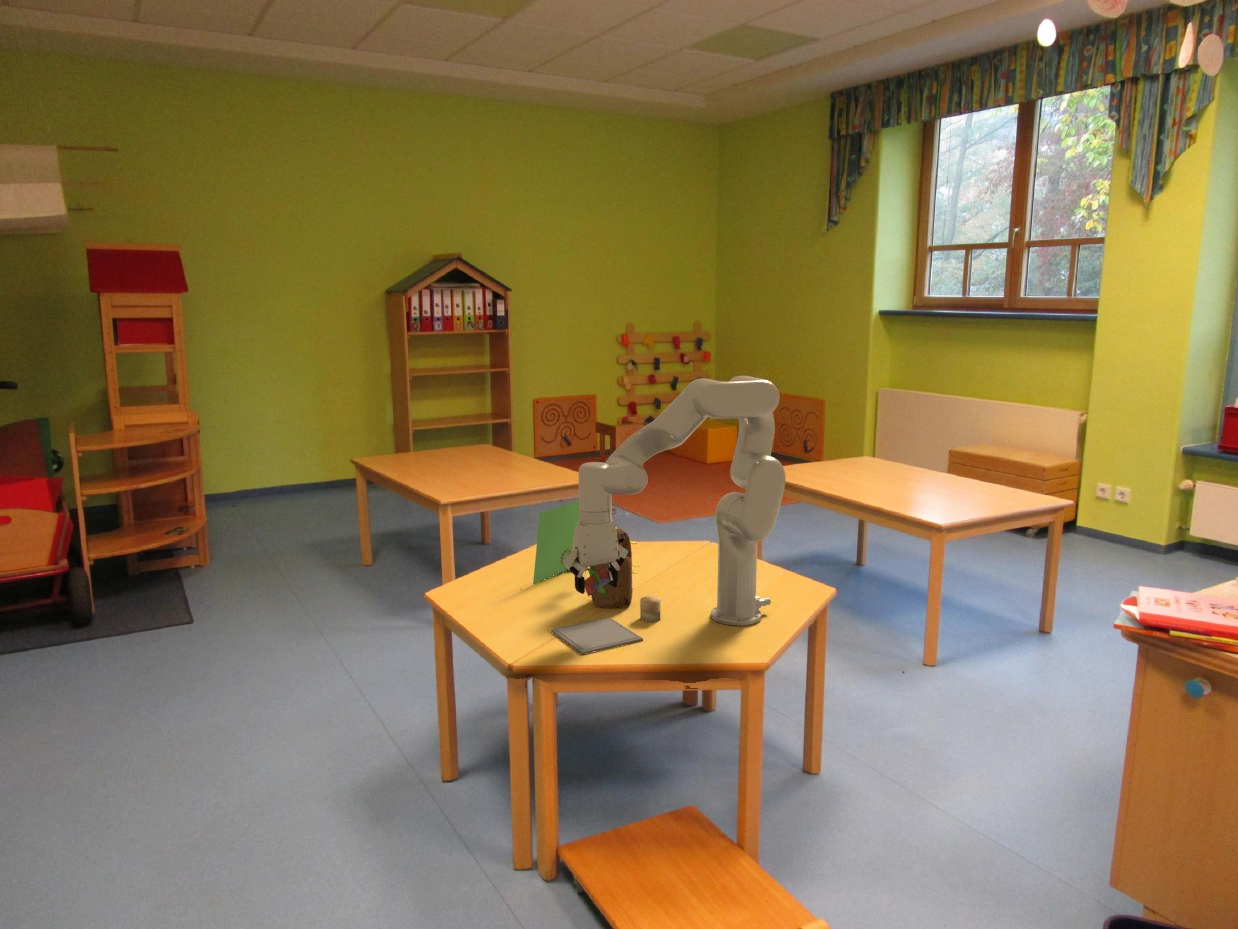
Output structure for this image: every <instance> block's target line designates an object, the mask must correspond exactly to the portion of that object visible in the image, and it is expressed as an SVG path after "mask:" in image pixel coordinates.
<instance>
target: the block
mask: <svg viewBox="0 0 1238 929" xmlns="http://www.w3.org/2000/svg"><path fill="white" fill-rule="evenodd" d="M616 532H617V540H618V545H620V546H621V547H623V548H625V549H626V550H628V554H627V556H626V557H625V559H624V562H623V563H622V565H621V566H620V569H619V570H618V582H617V587H613V586H611V585H609V584H608V583H607V584H606V585H605V586H603V589H604V591H605V594H606V595H604V594H602V593H600V592H598V591H596V592H595V593H593V594H592V595H590V597H591V601H592V602H593V604H594V606H595V607H599V608H602V609H614V608H616V609H617V608H618V609H619V608H625V607H628V606H630V605H631V604H632V599H633V588H632V587H633V573H632V571H633V566H632V563H633V553H632V543H630V541H631V539H630V536H629V534H628V533H627V532H626V531H625V530H623V529H622V528H617V529H616ZM619 554H620V552H619V551H618V556H619ZM604 566H605V567H606V568H607V569H608V568H610V566H609V564H608V563H606V564H601V565H595V566H590V567H589V569H592V570H594V571H596V572H597V571H598V570H600V569H601V568H603V567H604ZM607 569H606V570H607ZM606 572H608V570H607V571H606ZM607 574H608V573H607ZM608 586H609V587H608ZM607 591H608V592H607ZM603 595H604V596H603Z"/></svg>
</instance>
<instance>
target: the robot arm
mask: <svg viewBox="0 0 1238 929" xmlns="http://www.w3.org/2000/svg"><path fill="white" fill-rule="evenodd" d="M779 403H780V391H779V390H778V388H777V386H776V385H775V384H774V383H772V381H769V380H767V379H764V378H758V377H753V376H750V375H749V376H748V375H736V376H733V377H732V378H731V379H729V381H719V380H715V379H710V378H697V379H694V380H693V381H691V382H690V383H689V384H688V385H687V386H686V387H685V388H684V389H683V390H682V391H681V392H680V393H679V394H678V395H677V396H676V397H675V399H673V401H672V402H670V403H669V405H668V406H666V408H665V409H664V410H662V412H661V413H660V414H658V416H657V417H656V418H655V419H653V421H651V422H649V423H647V424H646V425H645V426H643V427H642V428H640V429H639V430H637V431H635V432H634V433H632V434H631V435H630V436H629V437H628V438H626V439H625V440H623V442H622V443H621V444H620V445H618V447H617V448H616V449H615V450H614V451H613V452H612V453H611V454H610V455H609V456H608V458H607V459H606V460H605V462H599V461H590V462H584V463H582V464H581V465H580V466H579V468H578V501H579V522H576V525H575V530H574V537H573V552H572V553H571V554H569V555H568V556H567V557H566V558H565V559H564V560H563V563H564V564H565V566H566V567H567V568H568V571H570V572H571V574H572V575H573V576H574V590H575V591H577V592H578V593H580V594H582V595H583V594H585V592H586V589H585V580H586V579H585V576H583V575H584V573H585V572H586V571H587V567H588V568H590V566H595V565H601V564H606V563H608V564H609V566H610V568H608V570H609V571H610V572H611V574H612V575H611V576H613V581H610V583H608V584H609V585H611V586H613V587H617V582H618V570H619V569H620V566H621V565H622V563H623V562H624V559H625V557H626V556H627V554H628V550H626V549H625V548H623V547H621V546H620V545H618V540H617V532H616V527H617V526H616V523H615V520H613V515H616V514H617V509H616V508H613V507H612V506H613V505H612V504H613V503H612V502H613V498H612V495H623V496H624V495H625V496H633V495H636V494H639V493H640V492H641V493H642V491H643V490H644V489H646V486H647V485H648V481H649V480H648V479H649V477H648V474H647V471H646V469H645V468H644V467H643V465H644V463H645V462H647V461H648V460H649V459H651V458H652V457H653V456H655V455H656V454H658V453H659V454H660V453H661V452H664V451H670V450H673V449H675V448H678V447H679V446H682V445H683V444H684V443H685V442H686V441H687V440H688V438H689V437H691V435H692V434H693V433H694V432H695V431H696V430H697V429H698V428H699V427H700V426H701V425H702V424H703V423H704V421H706V420H707V418H711V419H717V420H719V419H720V420H729V419H730V420H731V419H732V420H733V419H738V422H739V423H738V424H739V425H738V426H739V428H738V436H737V441H736V445H735V449H734V453H733V457H732V461H731V466H730V472H729V473H730V474H729V475H730V478H731V480H732V482H733V483H734V484H735V485H736V486H738V487H740V488H742V489H744V490H745V493H742V492H738V491H733V492H728V493H726V494H725V495H723V496H722V497H721V498H720V499H719V500H718V503H717V505H716V508H715V523H716V530H717V544H718V547H717V549H718V550H717V551H718V552H717V555H718V556H717V588H716V589H717V593H716V594H717V595H716V600H717V601H716V606H715V607H713V608H712V609H711V610H710V618H711V619H712V620H714V621H715V622H717V623H719V624H723V625H728V626H736V627H737V626H738V627H740V626H741V627H742V626H750V625H754V624H757V623H758V622H760V621H762V617H763V616H762V614H763V613H762V611H761V610H760V608H762V607H765V606H770V605H771V603H772V600H771V598H770V597H768V596H767V597H764V598H760V596H757V574H758V573H757V570H758V569H757V567H758V566H757V565H758V561H757V560H758V544H757V542H761V541H763V540H765V539H766V538H768V537H769V536H770V535H771V534H772V532H773V530H774V528H775V526H776V523H777V520H778V516H779V513H780V508H781V505H782V504H781V503H782V500H783V496H784V492H785V488H786V471H785V469H784V466H783V465H782V463H781V462H780V461H779V459H777V458H775V457H774V456H772V449H773V445H774V439H775V432H776V431H775V430H776V429H775V428H776V424H775V418H774V414H773V413H774V411H775V410H776V409H777V408H778V406H779ZM618 551H619V552H620V554H619V556H618ZM572 561H574V562H576V563H577V564H576V566H575V567H574V566H573V565H572ZM609 571H608V574H609ZM609 576H610V575H608V577H609ZM609 579H610V577H609Z"/></svg>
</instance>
